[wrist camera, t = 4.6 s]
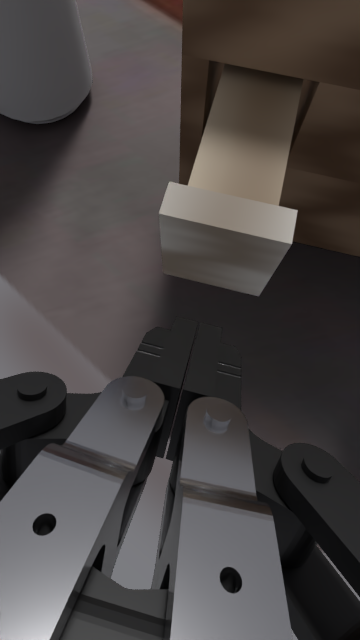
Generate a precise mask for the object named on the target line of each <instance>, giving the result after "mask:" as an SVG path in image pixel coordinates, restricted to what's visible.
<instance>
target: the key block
mask: <svg viewBox="0 0 360 640" xmlns="http://www.w3.org/2000/svg"><path fill="white" fill-rule="evenodd" d="M225 63H226V64H231V65H236V66H241V67H246V68H251V69H256V70H261V71H266V72H271V73H276V74H281V75H287V76H292V77H297V78H302V79H303V84H302V89H301V94H300V99H299V104H298V109H297V114H296V120H295V125H294V130H293V135H292V140H291V145H290V150H289V155H288V160H287V166H286V171H285V176H284V181H283V186H282V191H281V196H280V201H279V206H281V207H285V208H290V209H294V210H298V212H297V217H296V223H295V229H294V235H293V242H297V243H302V244H306V245H310V246H315V247H319V248H323V249H328V250H332V251H337V252H341V253H345V254H350V255H354V256H358V257H360V0H183V31H182V77H181V124H180V171H179V184H182V185H187V186H188V183H189V179H190V176H191V173H192V170H193V166H194V163H195V160H196V156H197V153H198V150H199V147H200V143H201V140H202V137H203V133H204V130H205V127H206V124H207V120H208V117H209V114H210V110H211V107H212V104H213V101H214V97H215V94H216V91H217V87H218V84H219V81H220V78H221V74H222V71H223V68H224V64H225Z"/></svg>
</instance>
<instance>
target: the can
mask: <svg viewBox="0 0 360 640" xmlns="http://www.w3.org/2000/svg"><path fill="white" fill-rule="evenodd" d="M92 83H93V80H92V69H91V65H90V61H89V56H88V52H87V47H86V43H85V39H84V34H83V30H82V26H81V21H80V17H79V12H78V8H77V4H76V0H0V114H3V115H5V116H7V117H9V118H12V119H15V120H21V121H23V122H27V123H33V124H43V123H52V122H55V121H57V120H60V119H63V118H65V117H66V116H68V115H70V114H71V113H73V112H74V111H75V110H76V109H77V107H78V106H79V105H80V104H81V102H82V101H83V100H84V99H85V98H86V96H87V95H88V94H89V91H90V88H91V85H92Z"/></svg>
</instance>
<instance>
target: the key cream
mask: <svg viewBox="0 0 360 640" xmlns="http://www.w3.org/2000/svg"><path fill="white" fill-rule="evenodd" d="M302 84H303V79H302V78H297V77H292V76H287V75H281V74H276V73H271V72H266V71H261V70H256V69H251V68H246V67H241V66H236V65H231V64H226V63H225V64H224V68H223V71H222V74H221V78H220V81H219V84H218V87H217V91H216V94H215V97H214V101H213V104H212V107H211V110H210V114H209V117H208V120H207V124H206V127H205V130H204V133H203V137H202V140H201V143H200V147H199V150H198V153H197V156H196V160H195V163H194V166H193V170H192V173H191V176H190V179H189V183H188V186H187V185H182V184H178V183H174V182H169V184H168V187H167V190H166V193H165V196H164V199H163V202H162V205H161V208H160V211H159V223H160V237H161V252H162V266H163V273H164V274H168V275H172V276H176V277H180V278H184V279H189V280H193V281H197V282H201V283H205V284H209V285H213V286H217V287H222V288H226V289H230V290H234V291H238V292H242V293H246V294H251V295H255V296H259V295H260V294H261V292H262V291H263V289H264V287H265V286H266V284H267V283H268V281H269V280H270V278H271V276H272V275H273V273H274V272H275V270H276V268H277V267H278V265H279V264H280V262H281V261H282V259H283V257H284V256H285V254H286V253H287V251H288V249H289V248H290V246H291V245H292V241H293V235H294V229H295V223H296V217H297V212H298V210H294V209H290V208H285V207H281V206H279V201H280V196H281V191H282V186H283V181H284V176H285V171H286V166H287V160H288V155H289V150H290V145H291V140H292V135H293V130H294V125H295V120H296V114H297V109H298V104H299V99H300V94H301V89H302Z"/></svg>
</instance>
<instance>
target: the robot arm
mask: <svg viewBox="0 0 360 640" xmlns="http://www.w3.org/2000/svg"><path fill="white" fill-rule="evenodd" d="M197 325H198V322H197V321H193V320H189V319H185V318H181V317H176V319H175V321H174V324H173V326H172V329H171V330H168V329H164V328H160V327H156V328H154V329H152V330H151V331H149V332H147V333H146V335H145V337H144V338H143V340H142V343H141V344H140V346H139V348H138V350H137V351H136V353H135V355H134V357H133V359H132V360H131V362H130V364H129V366H128V368H127V370H126V371H125V373H124V375H123V377H120V378H117V379H115V380H113V381H111V382H110V383H109V384H108V385H107V386H106V387H105V389H104V390H103V391H102V392H100V393H94V394H73V393H72V394H71V393H67V389H66V385H65V383H64V382H63V381H62V380H61V379H60V378H58V377H57V376H55V375H52V374H49V373H44V372H27V373H22V374H18V375H14V376H11V377H8V378H4V379H0V640H293V637H292V632H291V629H292V630H293V632H294V634H295V635H296V637H297V638H298V640H360V601H359V600H358V599H357V597H356V596H355V595H354V593H353V592H352V591H351V590H350V588H349V587H348V586H347V585H346V583H345V582H344V581H343V579H342V578H341V577H340V575H339V574H338V573H337V572H336V570H335V569H334V568H333V566H332V565H331V564H330V563H329V561H328V560H327V559H326V557H325V556H324V555H323V554H322V552H321V551H320V550H319V548H318V547H317V546H316V545H317V544H319V546H320V547H321V548H322V550H323V551H324V552H325V553H326V555H327V556H328V557H329V558H330V560H331V561H332V562H333V563H334V565H335V566H336V567H337V569H338V570H339V571H340V572H341V574H342V575H343V576H344V578H345V579H346V580H347V581H348V582H349V584H350V585H351V586H352V588H353V589H354V590H355V592H356V593H357V594H358V595H359V597H360V483H359V482H358V481H357V480H356V479H355V478H354V477H353V476H352V475H351V474H350V473H349V472H348V471H347V470H346V469H345V468H344V467H343V466H342V465H341V464H340V463H339V462H338V461H337V460H336V459H335V458H334V457H332V456H331V455H330V454H328V453H327V452H325V451H324V450H322V449H320V448H318V447H316V446H313V445H310V444H305V443H294V444H291V445H289V446H287V447H286V448H285V449H284V450H283V451H281V450H279V449H277V448H275V447H273V446H272V445H270V444H268V443H266V442H264V441H263V440H261V439H260V438H258V437H257V436H256V435H254V434H253V433H252V432H251V431H250V430H249V429H248V423H247V420H246V417H245V416H244V414H243V413H242V412H241V356H240V354H239V353H238V351H237V349H236V348H235V346H231V345H227V344H223V343H220V342H221V334H222V328H221V327H217V326H213V325H209V324H205V323H201V322H200V325H199V329H198V333H197V337H196V341H195V345H194V349H193V353H192V357H191V361H190V365H189V369H188V373H187V377H186V381H185V384H184V388H183V392H182V396H181V400H180V404H179V408H178V412H177V416H176V420H175V424H174V428H173V432H172V436H171V440H170V444H169V448H168V452H167V456H166V459H168V460H172V461H173V464H172V469H171V473H170V478H169V481H168V485H167V489H166V494H165V502H164V508H163V515H162V523H161V529H160V537H159V544H158V550H157V557H156V564H155V570H154V576H153V581H152V586H151V590H132V589H127V588H124V587H122V586H121V585H119V584H118V583H116V582H115V581H113V580H112V579H111V575H112V572H113V568H114V565H115V562H116V559H117V556H118V554H119V551H120V548H121V546H122V543H123V541H124V538H125V535H126V533H127V530H128V528H129V525H130V523H131V520H132V518H133V515H134V512H135V510H136V507H137V505H138V502H139V500H140V497H141V494H142V492H143V489H144V487H145V484H146V480H147V477H148V475H149V474H150V472H151V470H152V467H153V463H154V459H155V456H157V457H161V458H163V457H164V453H165V450H166V446H167V442H168V438H169V434H170V431H171V427H172V423H173V419H174V415H175V412H176V408H177V404H178V400H179V396H180V393H181V389H182V385H183V381H184V377H185V373H186V369H187V365H188V361H189V357H190V353H191V349H192V345H193V341H194V337H195V333H196V329H197Z"/></svg>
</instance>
